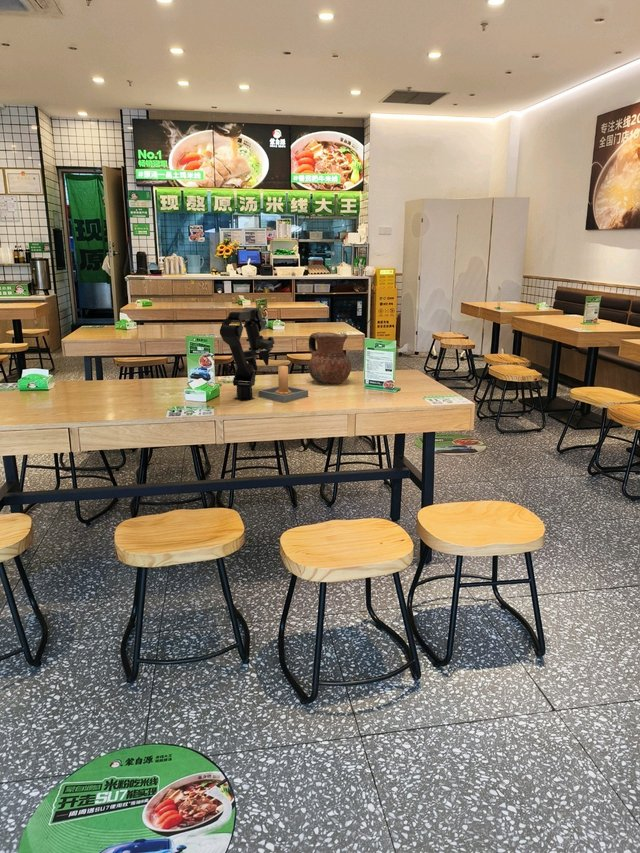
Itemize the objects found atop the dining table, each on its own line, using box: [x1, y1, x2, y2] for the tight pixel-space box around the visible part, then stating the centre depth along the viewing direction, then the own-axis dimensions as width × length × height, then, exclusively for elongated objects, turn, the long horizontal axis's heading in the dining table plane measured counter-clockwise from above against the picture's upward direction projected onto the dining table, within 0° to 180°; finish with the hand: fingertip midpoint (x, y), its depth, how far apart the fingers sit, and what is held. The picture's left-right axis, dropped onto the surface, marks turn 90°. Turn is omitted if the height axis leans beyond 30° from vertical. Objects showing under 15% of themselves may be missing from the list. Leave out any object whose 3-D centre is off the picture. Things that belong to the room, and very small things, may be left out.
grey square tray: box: [258, 385, 309, 403], centre depth 286 cm, size 16×16×3 cm
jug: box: [307, 331, 353, 386], centre depth 316 cm, size 22×21×25 cm
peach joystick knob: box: [275, 365, 291, 395], centre depth 284 cm, size 7×7×13 cm
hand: (261, 368), depth 289 cm, fingers open, 9 cm apart
